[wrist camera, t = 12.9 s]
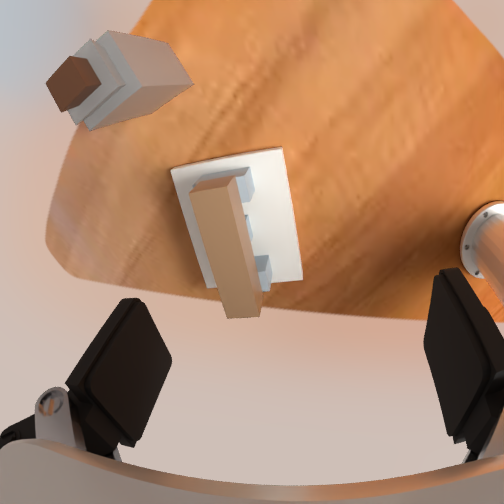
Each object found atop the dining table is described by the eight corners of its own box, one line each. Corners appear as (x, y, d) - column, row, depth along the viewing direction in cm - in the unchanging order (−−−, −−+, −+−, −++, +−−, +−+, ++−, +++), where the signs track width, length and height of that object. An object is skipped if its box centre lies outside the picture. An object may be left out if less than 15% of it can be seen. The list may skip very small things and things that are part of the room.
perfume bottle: (167, 43, 31) (76, 25, 15) (194, 84, 33) (113, 89, 18) (127, 73, 33) (27, 82, 18) (151, 113, 36) (58, 142, 20)
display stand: (281, 146, 36) (278, 156, 31) (303, 273, 44) (302, 297, 39) (174, 167, 39) (157, 179, 34) (209, 282, 47) (199, 305, 43)
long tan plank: (235, 174, 33) (226, 186, 29) (263, 296, 40) (259, 316, 37) (200, 181, 34) (188, 193, 30) (233, 298, 41) (227, 318, 38)
